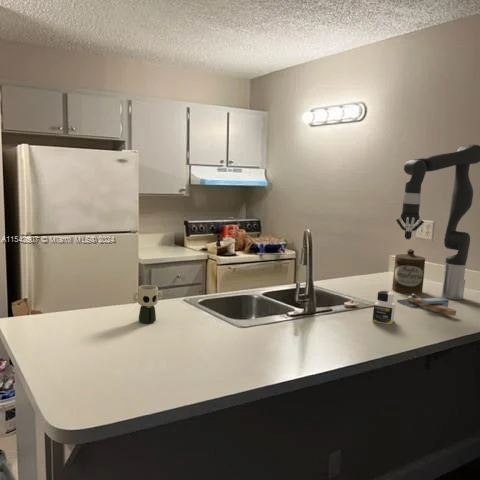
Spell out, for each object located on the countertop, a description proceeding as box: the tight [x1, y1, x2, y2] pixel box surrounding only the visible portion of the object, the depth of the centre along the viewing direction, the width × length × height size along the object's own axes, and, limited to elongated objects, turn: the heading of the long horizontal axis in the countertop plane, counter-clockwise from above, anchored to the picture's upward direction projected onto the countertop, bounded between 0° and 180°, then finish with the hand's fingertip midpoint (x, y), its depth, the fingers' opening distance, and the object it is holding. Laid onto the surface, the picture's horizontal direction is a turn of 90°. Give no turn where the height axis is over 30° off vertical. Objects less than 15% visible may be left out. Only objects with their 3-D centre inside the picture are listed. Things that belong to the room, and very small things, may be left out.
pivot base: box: [396, 293, 424, 309], centre depth 217 cm, size 10×10×5 cm
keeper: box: [421, 297, 450, 308], centre depth 208 cm, size 12×4×5 cm, turn 112°
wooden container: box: [391, 248, 426, 295], centre depth 242 cm, size 15×15×22 cm
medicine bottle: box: [372, 290, 396, 325], centre depth 188 cm, size 7×7×12 cm
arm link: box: [407, 295, 457, 317], centre depth 208 cm, size 24×5×2 cm, turn 24°
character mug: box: [132, 284, 163, 324], centre depth 171 cm, size 11×7×13 cm, turn 119°
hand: (407, 239), depth 223 cm, fingers closed
